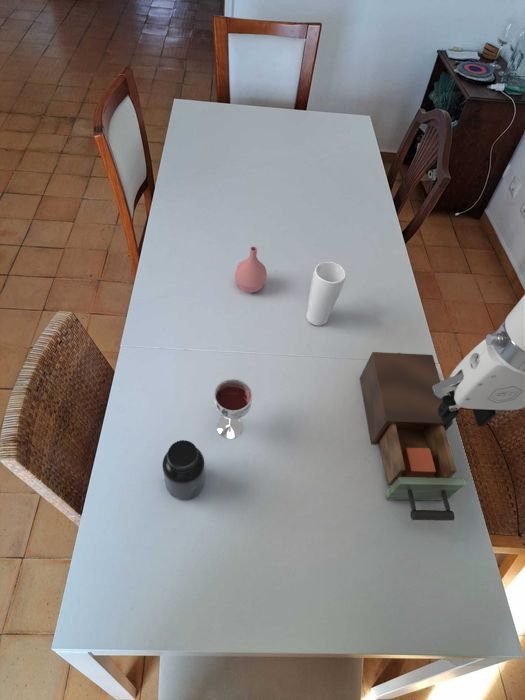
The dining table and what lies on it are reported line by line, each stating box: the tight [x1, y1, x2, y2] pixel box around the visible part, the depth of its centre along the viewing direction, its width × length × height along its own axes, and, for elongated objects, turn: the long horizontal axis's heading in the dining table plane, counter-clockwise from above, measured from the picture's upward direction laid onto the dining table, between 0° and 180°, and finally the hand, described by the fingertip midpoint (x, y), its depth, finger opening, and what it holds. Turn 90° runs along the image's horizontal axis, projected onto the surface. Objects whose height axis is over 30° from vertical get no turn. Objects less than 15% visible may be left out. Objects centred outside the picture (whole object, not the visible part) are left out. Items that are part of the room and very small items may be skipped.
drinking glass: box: [305, 261, 347, 327], centre depth 102 cm, size 7×7×15 cm
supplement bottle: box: [162, 439, 206, 501], centre depth 76 cm, size 7×7×12 cm
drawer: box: [379, 423, 466, 522], centre depth 82 cm, size 20×11×8 cm, turn 1°
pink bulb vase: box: [234, 246, 268, 293], centre depth 107 cm, size 8×8×12 cm
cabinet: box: [359, 351, 454, 445], centre depth 91 cm, size 16×13×10 cm
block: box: [402, 448, 436, 478], centre depth 83 cm, size 4×4×4 cm
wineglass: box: [213, 378, 253, 440], centre depth 84 cm, size 7×7×12 cm
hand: (460, 416), depth 69 cm, fingers open, 4 cm apart
